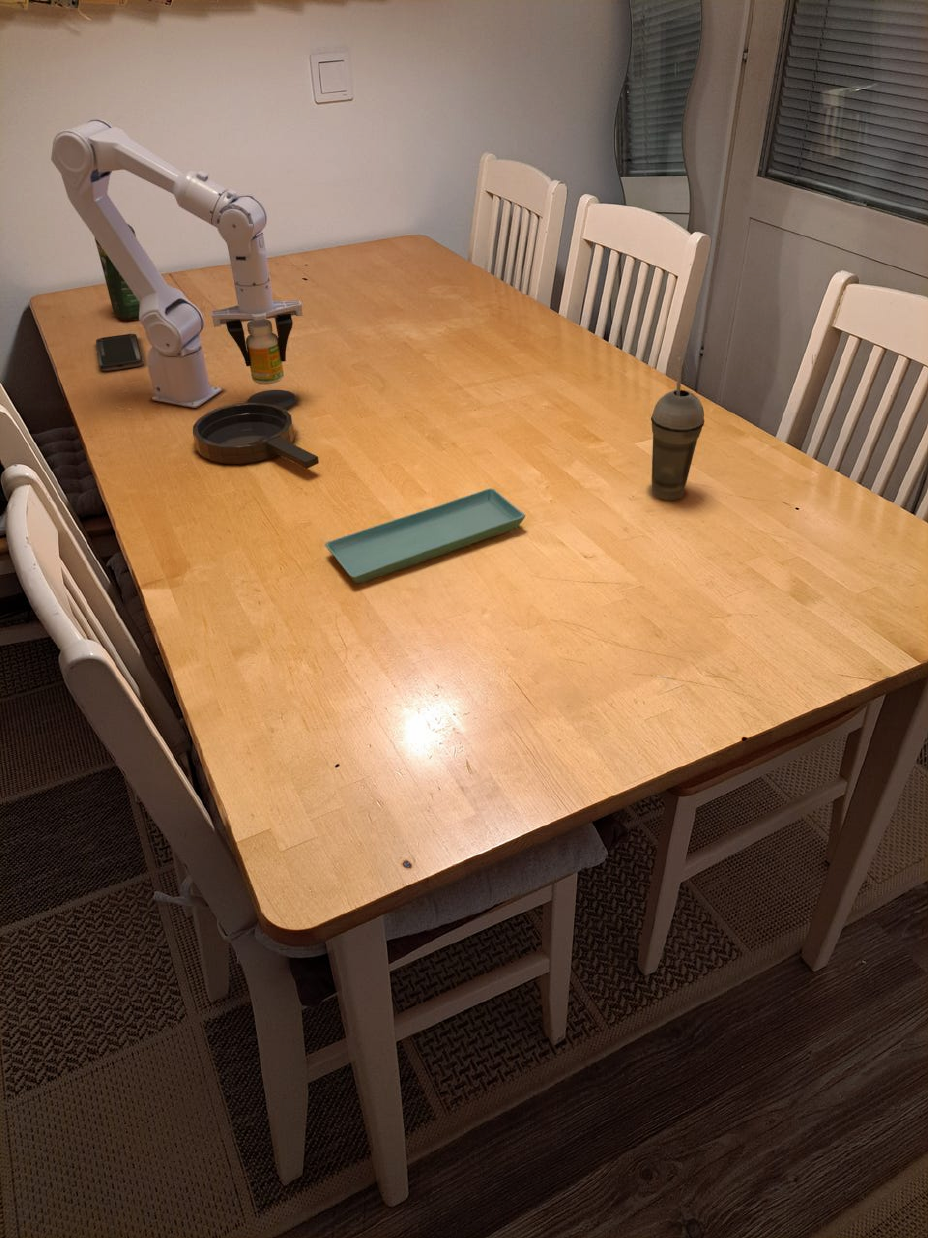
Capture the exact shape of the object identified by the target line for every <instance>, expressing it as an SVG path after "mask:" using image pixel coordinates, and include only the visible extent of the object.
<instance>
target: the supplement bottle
mask: <svg viewBox="0 0 928 1238" xmlns="http://www.w3.org/2000/svg"><path fill="white" fill-rule="evenodd" d="M246 324H247V325H246V327H247V333H248V334H249V335H247V337H245V342H246V348H247V352H248V356H249V360H250V365H251V366H249V369H250V374H251V380H252V381H253V382H254V383H255V384H257V385H262V386H263V385H265V386H266V385H274V384H277V383H280V382H281V381H282V380H283V379H284V376H285V375H284V369H283V368H284V367H283V362H282V361H281V354H280V347H279V340H278V334H277V333H274V331H273V324H272V321H271V320H269V319H264V320H253V321H247V323H246Z"/></svg>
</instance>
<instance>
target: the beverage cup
mask: <svg viewBox="0 0 928 1238" xmlns="http://www.w3.org/2000/svg"><path fill="white" fill-rule="evenodd" d="M682 366H683V357H680V356H679V357H678V358H677V373H676V389H673V390H671V391H668V392H667V393H664V395H663V396H661V397H660V398H659V399H658V400H657V402H656V403H655V406H654V409H653V411H652V414H651V417H650V421H651V432H652V451H651V452H652V453H651V454H652V456H651V493H652V495H653V496H654V497H655V498H657V499H660V500H662V501H676V500H678V499H681V498H682V497H683V496H684V491H685V488H686V487H687V482H688V478H689V475H690V471H691V466H692V462H693V458H694V455H695V450H696V446H697V442H698V440H699V438H700V435H701V433H702V430H703V427H704V426H705V411H704V407H703V405H702V403H701V401H700V399H699V397H698V396H696V395H695V394H694V393H693V392H692V391H688V390H685V389H681V386H682V369H683V368H682Z"/></svg>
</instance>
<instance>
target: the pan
mask: <svg viewBox="0 0 928 1238" xmlns="http://www.w3.org/2000/svg"><path fill="white" fill-rule="evenodd" d="M192 436H193V440H194V444H195V445H194V446H195V449H196V451H197V452H198V453H199V455H200V456H201V457H203V458H205V459H207V460H209V461H212V462H215V463H220V464H225V465H243V464H244V465H246V464H247V465H248V464H252V463H259V462H263V461H265V460H268V459H269V460H270V459H272V458H273V457H276V456H277V455H278V454H276V453H274V452H273V451H271V450H269V449H267V445H266V442H268V441H270V440H272V439H274V438H277V437H280V438H282V439H284V440H286V441H288V442H290V443H292V444H293V442H294V439H295V431H294V424H293V418H292V414H290V412H289V411H287V410H285V409H283V408H281V407H279V406H276V405H271V404H266V403H247V402H241V403H240V402H239V403H233V404H229V405H225V406H222V407H218V408H216V409H213V410H211V411H209V412H206V413H205V414H203V415H202V416H200V417H198V419H197V420H196V421H195V422H194V424H193V425H192Z"/></svg>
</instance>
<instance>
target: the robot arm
mask: <svg viewBox="0 0 928 1238" xmlns="http://www.w3.org/2000/svg"><path fill="white" fill-rule="evenodd" d="M50 160H51V162H52V163H53V165H54V166H55V168H56V169H57V171H58V172H59V174H60V175H61V178H62V182H63V185H64V189H65V192H66V195H67V198H68V200H69V202H70V204H71V205H72V207H73V208H74V210H75V211H76V212H77V213H78V215H79V217H80V218H81V220H82V221H83V222H84V223H85V224H84V225H86V227H87V228H88V230H89V231H90V233H91V234H92V236H93V237H94V239H95V238H96V240H97V241H98V243H99V244H100V246H101V247H102V249H103V250H104V251H105V253H106V254H107V256H108V257H109V259H110V260H111V262H112V263H113V264H114V266H115V267H116V269H117V270H118V272H119V273H120V275H121V276H122V277H123V279H124V280H125V282H126V283H127V285H128V286H129V288H130V289H131V291H132V292H133V293H134V295H135V296H136V298H137V299H138V301H139V302H140V310H139V322H140V323H141V325H142V326H143V329H144V331H145V334H146V338H147V341H148V343H149V344H150V346H151V347H150V349H149V351H148V354H147V359H146V365H147V369H148V373H149V378H150V381H151V385H152V390H153V393H154V395H153V396H152V397H151V399H152V401H154V402H155V401H156V402H160V403H167V404H170V405H171V404H172V405H176V406H182V407H187V408H193V409H197V408H199V407H200V406H201V405H203V404H204V403H206V402H208V401H209V400H210V399H212V398H213V397H214V396H216V395H217V394H219V393H220V392H222V388H221V387H219V386H213V385H210V380H209V375H208V370H207V364H206V359H205V356H204V351H203V345H202V338H201V333H202V332H203V330H204V328H205V319H204V315H203V313H202V312H201V310H200V309H199V308H198V306H197V305H196V304H194V303H193V302H191V300H189V299H188V298H187V297H186V296H185V294H184V292H183V291H181V290H180V289H178V288H176V287H173V286H170V285H169V284H168V283H167V281H166V280H165V278H164V277H163V275H162V274H161V273H160V271H159V270H158V268H157V267H156V265H155V263H154V262H153V261H152V259H151V258H150V256H149V255H148V253H147V252H146V250H145V248H144V247H143V246H142V244H141V243H140V241H139V240H138V238H137V236H136V237H135V235H136V234H135V235H134V234H133V232H132V231H131V229H130V228H129V226H128V225H127V224H128V223H127V221H126V220H125V219H124V217H123V216H122V214H121V213H120V211H119V210H118V208H117V207H116V205H115V204H114V202H113V201H112V199H111V198H110V196H109V193H108V191H109V185H110V178H111V175H112V173H113V172H114V171H126V172H128V173H130V174H131V175H135V176H136V177H137V178H138V177H139V178H141V179H143V180H145V181H147V182H149V183H150V184H153V185H154V186H157V187H158V188H160V189H163V190H164V191H166V192H168V193H171V195H173V196H174V198H175V202H176V204H177V205H178V207H180V208H181V209H183V210H185V211H187V212H188V213H190V214H192V215H194V216H195V217H197V218H199V219H200V220H202V221H204V222H206V223H207V224H209V225H210V226H213V227H215V228H216V229H217V231H218V233H219V235H220V237H221V238H222V239H223V240H224V241H225V243H226V246H227V250H228V251H227V252H228V255H229V262H230V267H231V272H232V279H233V285H234V290H235V291H234V292H235V296H236V300H237V305H234V306H230V307H226V308H221V309H217V310H211V311H210V314H211V319H212V324H213V327H214V328H217V327H221V325H226V327H227V328H226V329H227V332H228V334H229V335H230V336H231V338H232V339H233V341H234V342H235V344H236V345H237V347H238V349H239V351H240V352H241V355H242V357H243V359H244V362H245V366H246V367H250V366H251V365H250V360H249V356H248V352H247V346H246V337H245V331H244V327H243V323H245V322H250V321H253V320H264V319H266V320H269V319H274V322H275V327H276V332H277V333H276V335H277V337H278V340H279V347H280V354H281V361H282V363H285V362H286V361H287V358H286V357H287V347H288V342H289V337H290V334H291V331H292V329H293V324H294V321H293V318H292V316H296V317H303V316H304V313H303V305H302V302H301V301H300V300H286V301H285V300H283V301H282V300H277V301H275V300H274V296H273V288H272V283H271V275H270V270H269V262H268V257H267V249H266V244H265V237H264V233H263V230H264V229H265V228H266V226H267V212H266V209H265V207H264V206H263V204H262V203H261V202H260V201H259V200H257V198H255V197H254V196H253V195H251V194H240V195H238V192H237V191H235V190H233V189H229V190H228V189H227V188H225V187H223V186H222V185H220V184H219V183H217V182H215V181H213V180H211V179H209V177H210V176H209V174H208V173H207V172H205V171H203V170H200V171H196V170H190V171H187V172H182V171H180V170H179V169H177V168H176V167H174V165H171V164H170V163H168V162H167V161H165V160H163V159H162V158H161V157H159V156H157V155H156V154H154V153H153V152H151V151H150V150H148V149H147V148H145V147H144V146H142V145H141V144H139V143H137V142H136V141H135V140H133V139H132V138H131V137H129V135H127V133H126V132H125V131H124V130H123V129H121V128H119V127H117V126H113V125H112V124H110V122H109V121H106V120H104V119H102V118H93V119H90V120H88V121H87V122H85V123H83V124H80V125H77V126H74V127H72V128H69V129H63V130H61V131H59V132H58V133H56V135H55V136H54V138H53V142H52V148H51V156H50Z"/></svg>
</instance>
